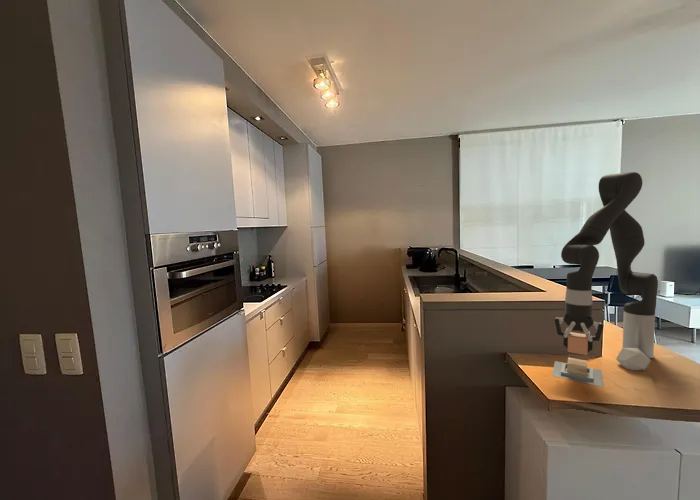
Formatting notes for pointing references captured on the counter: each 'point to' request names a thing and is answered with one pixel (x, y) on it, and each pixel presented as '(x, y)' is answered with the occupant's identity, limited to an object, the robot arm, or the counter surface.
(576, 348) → the top block
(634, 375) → the counter surface
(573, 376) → the base plate
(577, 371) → the base block
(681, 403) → the counter surface
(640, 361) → the grey faceted rock
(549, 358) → the counter surface
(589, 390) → the counter surface
